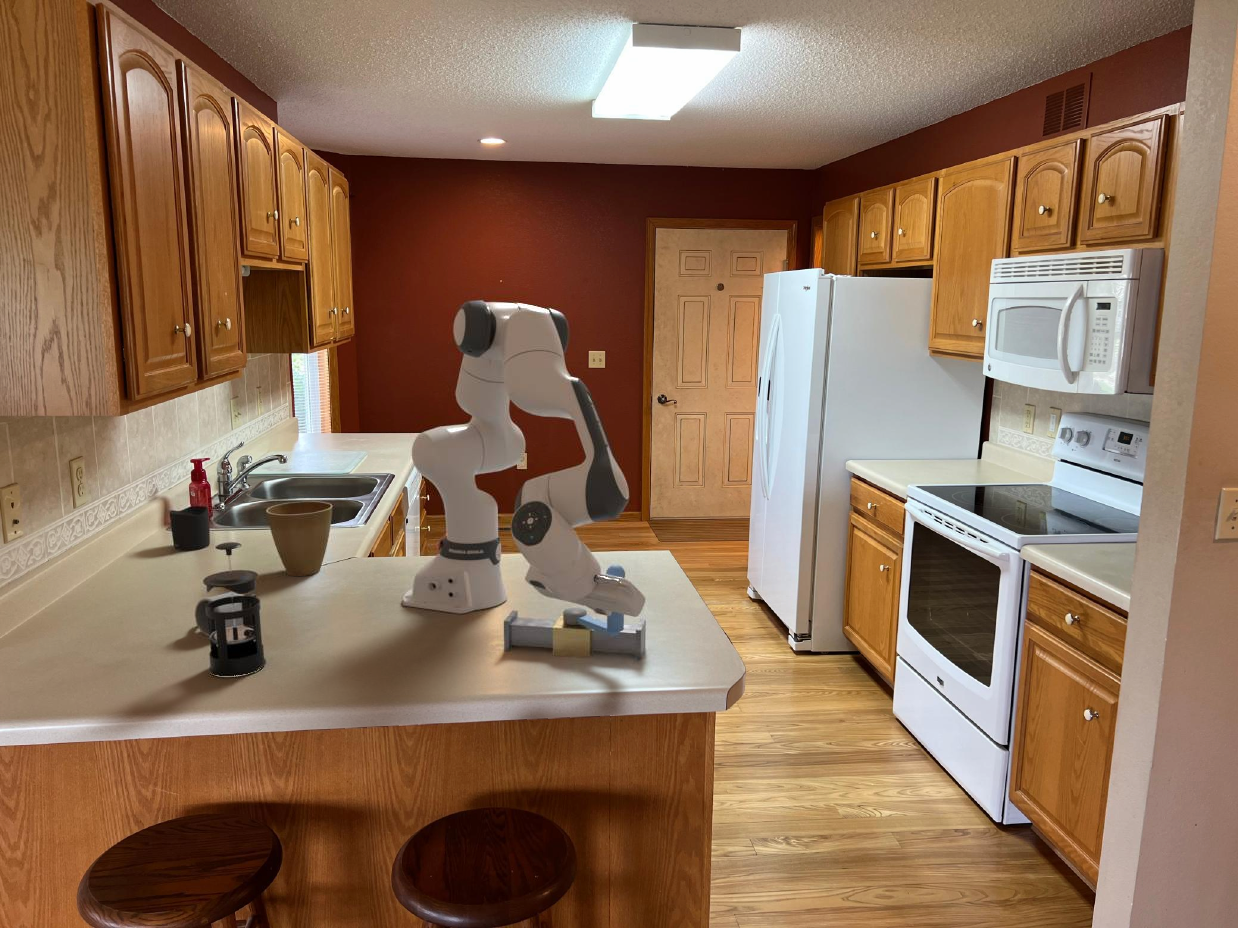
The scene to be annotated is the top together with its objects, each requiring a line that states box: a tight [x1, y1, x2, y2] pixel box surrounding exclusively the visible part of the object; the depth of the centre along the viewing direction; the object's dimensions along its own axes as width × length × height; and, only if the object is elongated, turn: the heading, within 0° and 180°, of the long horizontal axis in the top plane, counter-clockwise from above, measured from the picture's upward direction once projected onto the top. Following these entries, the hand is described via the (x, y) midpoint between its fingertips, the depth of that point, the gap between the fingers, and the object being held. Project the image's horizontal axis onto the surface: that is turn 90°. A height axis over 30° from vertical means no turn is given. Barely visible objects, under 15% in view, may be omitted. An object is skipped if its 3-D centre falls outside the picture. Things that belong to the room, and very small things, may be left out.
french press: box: [202, 541, 267, 676], centre depth 161 cm, size 12×9×23 cm
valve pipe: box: [503, 609, 647, 662], centre depth 170 cm, size 26×6×6 cm, turn 80°
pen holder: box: [168, 505, 211, 552], centre depth 238 cm, size 9×9×10 cm
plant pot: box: [265, 500, 333, 577], centre depth 217 cm, size 15×15×16 cm
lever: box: [562, 564, 626, 637], centre depth 165 cm, size 15×4×13 cm, turn 44°
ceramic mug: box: [194, 591, 245, 637], centre depth 181 cm, size 11×8×8 cm
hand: (605, 611), depth 159 cm, fingers closed
